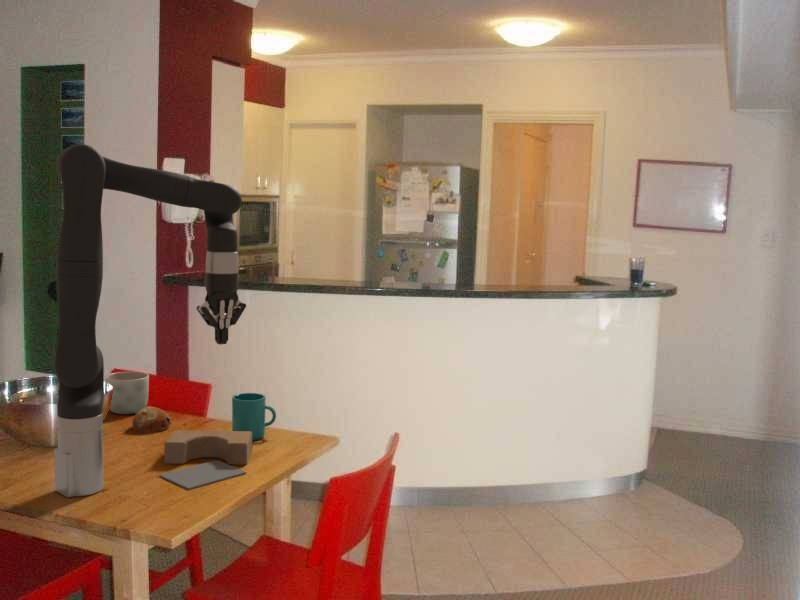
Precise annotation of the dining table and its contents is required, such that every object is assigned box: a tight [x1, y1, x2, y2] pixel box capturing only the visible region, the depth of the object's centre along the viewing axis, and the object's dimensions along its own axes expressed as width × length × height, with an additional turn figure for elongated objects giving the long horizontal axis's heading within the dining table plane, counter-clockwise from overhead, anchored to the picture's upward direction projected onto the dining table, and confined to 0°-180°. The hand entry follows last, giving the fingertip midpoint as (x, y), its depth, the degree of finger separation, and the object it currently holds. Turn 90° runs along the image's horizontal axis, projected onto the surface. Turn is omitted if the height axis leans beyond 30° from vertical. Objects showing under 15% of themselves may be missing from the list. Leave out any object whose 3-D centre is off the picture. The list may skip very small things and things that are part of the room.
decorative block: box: [163, 429, 253, 466], centre depth 203 cm, size 11×6×20 cm
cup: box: [231, 392, 277, 441], centre depth 222 cm, size 9×12×11 cm
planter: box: [105, 371, 150, 415], centre depth 244 cm, size 12×12×11 cm
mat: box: [159, 459, 247, 491], centre depth 191 cm, size 16×12×1 cm
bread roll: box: [131, 405, 172, 434], centre depth 228 cm, size 10×10×8 cm
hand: (221, 343), depth 191 cm, fingers closed
